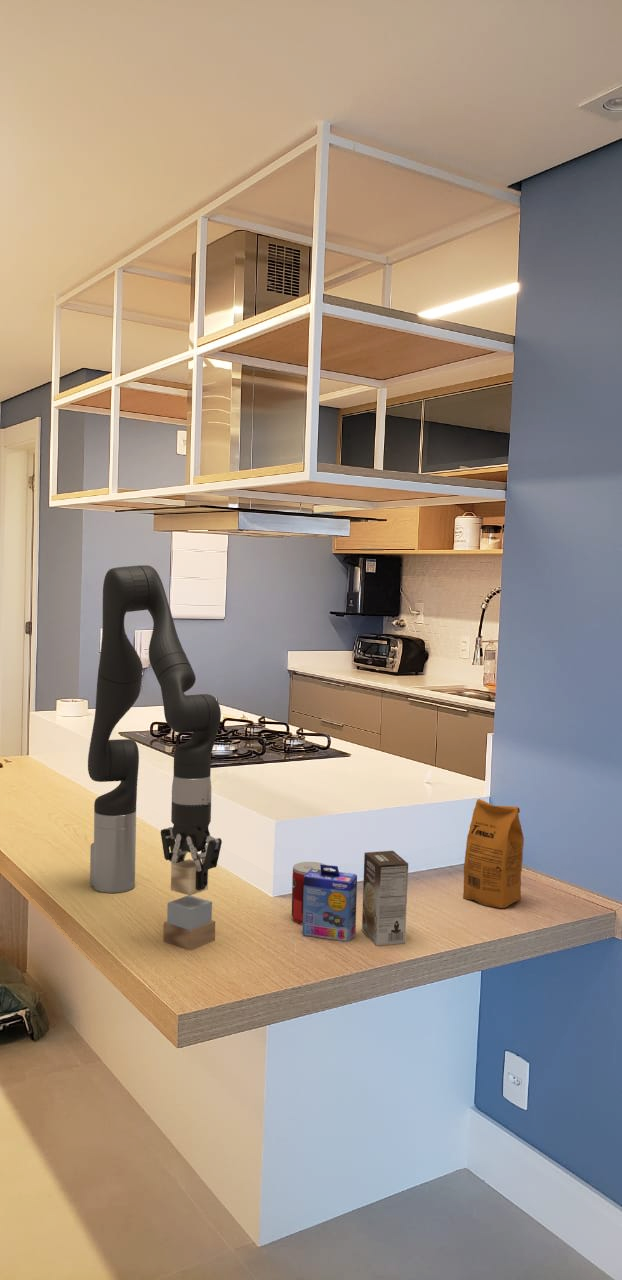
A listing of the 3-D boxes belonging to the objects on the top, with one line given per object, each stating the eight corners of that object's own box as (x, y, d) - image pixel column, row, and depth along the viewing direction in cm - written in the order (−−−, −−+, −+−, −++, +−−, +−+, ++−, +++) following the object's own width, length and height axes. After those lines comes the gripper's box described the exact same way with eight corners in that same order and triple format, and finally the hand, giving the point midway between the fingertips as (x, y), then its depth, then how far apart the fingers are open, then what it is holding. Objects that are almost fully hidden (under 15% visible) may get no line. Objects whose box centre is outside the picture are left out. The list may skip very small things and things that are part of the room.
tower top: (167, 923, 191) (167, 902, 190) (188, 915, 196) (188, 895, 195) (190, 930, 187) (191, 909, 187) (211, 921, 192) (212, 901, 192)
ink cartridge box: (300, 936, 196) (302, 863, 195) (308, 927, 202) (310, 856, 201) (349, 942, 194) (351, 869, 193) (356, 933, 199) (358, 861, 198)
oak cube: (170, 890, 191) (171, 864, 190) (188, 884, 195) (189, 858, 194) (190, 895, 188) (190, 869, 188) (207, 889, 192) (208, 863, 192)
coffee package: (481, 888, 230) (485, 794, 228) (527, 902, 221) (531, 804, 220) (454, 897, 223) (458, 800, 222) (501, 912, 214) (505, 811, 213)
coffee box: (360, 929, 201) (362, 851, 200) (390, 927, 203) (392, 849, 202) (376, 946, 192) (378, 864, 191) (407, 943, 194) (410, 862, 193)
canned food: (307, 910, 212) (308, 859, 211) (336, 919, 207) (338, 867, 206) (283, 919, 206) (284, 866, 205) (313, 928, 201) (314, 875, 200)
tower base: (163, 943, 191) (163, 922, 191) (187, 933, 197) (188, 913, 197) (190, 952, 187) (191, 931, 187) (214, 941, 193) (215, 921, 193)
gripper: (150, 796, 191) (148, 883, 192) (207, 808, 183) (205, 899, 184) (177, 790, 197) (175, 874, 198) (233, 801, 189) (231, 889, 190)
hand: (189, 886), depth 191 cm, fingers closed on oak cube, 5 cm apart
